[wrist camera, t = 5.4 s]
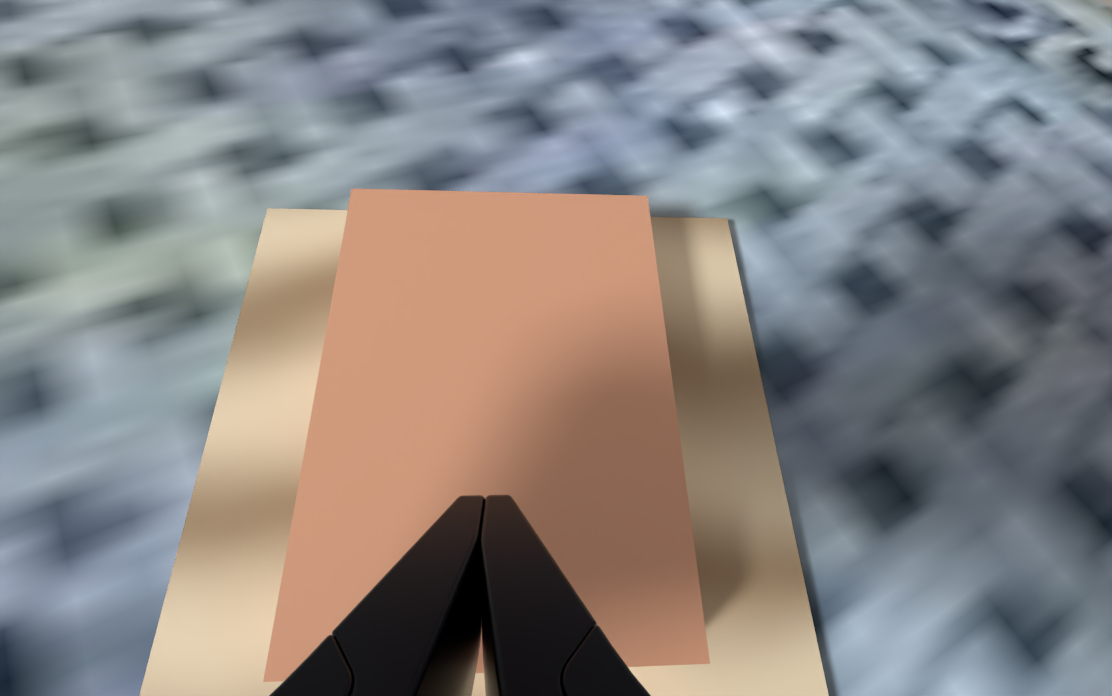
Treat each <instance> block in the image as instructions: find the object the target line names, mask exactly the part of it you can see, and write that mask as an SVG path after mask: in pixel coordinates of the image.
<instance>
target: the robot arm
mask: <svg viewBox="0 0 1112 696" xmlns="http://www.w3.org/2000/svg"><path fill="white" fill-rule="evenodd" d="M481 631H482V650H483V666H484V680H485V693H486V696H651V695H650V694H649V693H648V692H647V690H646V689H645V688H644V687H643V686H642V684H641V683H640V682H639V681H638V680H637V678H636V677H635V676H634V675H633V673H632V672H631V671H630V669H629V668H628V667H627V665H626V664H625V662H624V661H623V660H622V658H621V657H620V656H619V654H618V653H617V651H616V650H615V649H614V647H613V646H612V644H611V643H610V641H609V640H608V638H607V637H606V635H605V634H604V632H603V631H602V629H601V628H600V627H599V626H597V623H596V621H595V620H594V618H593V617H592V615H591V614H590V612H589V611H588V609H587V608H586V606H585V605H584V603H583V602H582V600H581V599H580V597H579V596H578V594H577V593H576V591H575V590H574V588H573V587H572V585H571V584H570V582H569V581H568V579H567V578H566V576H565V575H564V574H563V572H562V571H561V569H560V568H559V566H558V565H557V563H556V562H555V560H554V559H553V557H552V556H551V554H550V553H549V551H548V550H547V548H546V547H545V545H544V544H543V542H542V541H541V539H540V538H539V536H538V535H537V533H536V532H535V530H534V529H533V528H532V526H531V525H530V523H529V522H528V520H527V519H526V517H525V516H524V514H523V513H522V511H521V510H520V508H519V507H518V505H517V504H516V502H515V501H514V499H513V498H512V497H511V496H510V495H488V496H487V497H486V498H484V496H482V495H462V496H459V497H458V498H457V499H456V500H455V501H454V502H453V503H452V504H451V505H450V506H449V507H448V509H447V510H446V511H445V512H444V513H443V514H442V515H441V516H440V517H439V518H438V519H437V520H436V521H435V522H434V523H433V525H432V526H431V527H430V528H429V529H428V530H427V531H426V532H425V533H424V534H423V535H422V536H421V537H420V538H419V539H418V541H417V542H416V543H415V544H414V545H413V546H412V547H411V548H410V549H409V550H408V551H407V552H406V553H405V554H404V555H403V556H402V558H401V559H400V560H399V561H398V562H397V563H396V564H395V565H394V566H393V567H392V568H391V569H390V570H389V571H388V572H387V574H386V575H385V576H384V577H383V578H382V579H381V580H380V581H379V582H378V583H377V584H376V585H375V586H374V587H373V588H372V590H371V591H370V592H369V593H368V594H367V595H366V596H365V597H364V598H363V599H362V600H361V601H360V602H359V603H358V604H357V605H356V607H355V608H354V609H353V610H352V611H351V612H350V613H349V614H348V615H347V616H346V617H345V618H344V619H343V620H342V621H341V623H340V624H339V625H338V626H337V627H336V628H335V629H334V630H333V632H332V635H328V636H327V637H326V638H325V639H324V640H323V641H322V642H321V643H320V645H319V646H318V647H317V648H316V649H315V650H314V651H313V652H312V653H311V654H310V655H309V656H308V657H307V658H306V659H305V660H304V661H303V662H302V663H301V664H300V665H299V666H298V667H297V668H296V669H295V670H294V671H293V672H292V673H291V674H290V675H289V676H288V677H287V678H286V680H285V681H284V682H283V683H282V684H281V685H280V686H279V687H278V688H277V689H275V690H274V691H273V692H272V693H271V694H270V695H269V696H472V690H473V685H474V679H475V673H476V667H477V662H478V656H479V649H480V642H481Z"/></svg>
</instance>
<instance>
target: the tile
mask: <svg viewBox="0 0 1112 696" xmlns="http://www.w3.org/2000/svg"><path fill="white" fill-rule="evenodd" d="M462 495H482V496H484V498H486V497H487V496H488V495H510V496H511V497H512V498H513V499H514V501H515V502H516V504H517V505H518V507H519V508H520V510H521V511H522V513H523V514H524V516H525V517H526V519H527V520H528V522H529V523H530V525H531V526H532V528H533V529H534V530H535V532H536V533H537V535H538V536H539V538H540V539H541V541H542V542H543V544H544V545H545V547H546V548H547V550H548V551H549V553H550V554H551V556H552V557H553V559H554V560H555V562H556V563H557V565H558V566H559V568H560V569H561V571H562V572H563V574H564V575H565V576H566V578H567V579H568V581H569V582H570V584H571V585H572V587H573V588H574V590H575V591H576V593H577V594H578V596H579V597H580V599H581V600H582V602H583V603H584V605H585V606H586V608H587V609H588V611H589V612H590V614H591V615H592V617H593V618H594V620H595V621H596V623H597V626H599V627H600V628H601V629H602V631H603V632H604V634H605V635H606V637H607V638H608V640H609V641H610V643H611V644H612V646H613V647H614V649H615V650H616V651H617V653H618V654H619V656H620V657H621V658H622V660H623V661H624V662H625V664H626V665H627V667H644V666H668V665H692V664H710V659H709V651H708V644H707V636H706V629H705V621H704V614H703V606H702V599H701V591H700V584H699V576H698V569H697V562H696V554H695V547H694V539H693V532H692V524H691V517H690V509H689V502H688V494H687V487H686V479H685V472H684V464H683V457H682V449H681V442H680V435H679V427H678V420H677V412H676V405H675V397H674V390H673V382H672V375H671V367H670V360H669V352H668V345H667V337H666V330H665V322H664V315H663V308H662V300H661V293H660V285H659V278H658V270H657V263H656V255H655V248H654V240H653V233H652V225H651V218H650V210H649V203H648V196H631V195H590V194H549V193H508V192H467V191H426V190H385V189H351V195H350V200H349V206H348V211H347V217H346V223H345V228H344V234H343V239H342V245H341V250H340V256H339V262H338V267H337V273H336V278H335V284H334V289H333V295H332V301H331V306H330V312H329V317H328V323H327V328H326V334H325V340H324V345H323V351H322V356H321V362H320V368H319V373H318V379H317V384H316V390H315V395H314V401H313V407H312V412H311V418H310V423H309V429H308V434H307V440H306V446H305V451H304V457H303V462H302V468H301V473H300V479H299V485H298V490H297V496H296V501H295V507H294V513H293V518H292V524H291V529H290V535H289V540H288V546H287V552H286V557H285V563H284V568H283V574H282V579H281V585H280V591H279V596H278V602H277V607H276V613H275V618H274V624H273V630H272V635H271V641H270V646H269V652H268V657H267V663H266V669H265V674H264V680H263V682H278V681H285V680H286V678H287V677H288V676H289V675H290V674H291V673H292V672H293V671H294V670H295V669H296V668H297V667H298V666H299V665H300V664H301V663H302V662H303V661H304V660H305V659H306V658H307V657H308V656H309V655H310V654H311V653H312V652H313V651H314V650H315V649H316V648H317V647H318V646H319V645H320V643H321V642H322V641H323V640H324V639H325V638H326V637H327V636H328V635H332V632H333V630H334V629H335V628H336V627H337V626H338V625H339V624H340V623H341V621H342V620H343V619H344V618H345V617H346V616H347V615H348V614H349V613H350V612H351V611H352V610H353V609H354V608H355V607H356V605H357V604H358V603H359V602H360V601H361V600H362V599H363V598H364V597H365V596H366V595H367V594H368V593H369V592H370V591H371V590H372V588H373V587H374V586H375V585H376V584H377V583H378V582H379V581H380V580H381V579H382V578H383V577H384V576H385V575H386V574H387V572H388V571H389V570H390V569H391V568H392V567H393V566H394V565H395V564H396V563H397V562H398V561H399V560H400V559H401V558H402V556H403V555H404V554H405V553H406V552H407V551H408V550H409V549H410V548H411V547H412V546H413V545H414V544H415V543H416V542H417V541H418V539H419V538H420V537H421V536H422V535H423V534H424V533H425V532H426V531H427V530H428V529H429V528H430V527H431V526H432V525H433V523H434V522H435V521H436V520H437V519H438V518H439V517H440V516H441V515H442V514H443V513H444V512H445V511H446V510H447V509H448V507H449V506H450V505H451V504H452V503H453V502H454V501H455V500H456V499H457V498H458V497H459V496H462ZM476 673H484V666H483V650H482V631H481V642H480V649H479V656H478V662H477V667H476Z"/></svg>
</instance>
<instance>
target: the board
mask: <svg viewBox="0 0 1112 696" xmlns="http://www.w3.org/2000/svg"><path fill="white" fill-rule="evenodd" d="M347 211H348V210H313V209H267V213H266V216H265V220H264V224H263V228H262V232H261V235H260V239H259V243H258V247H257V251H256V254H255V258H254V262H253V266H252V270H251V273H250V277H249V281H248V285H247V289H246V292H245V296H244V300H243V304H242V308H241V311H240V315H239V319H238V323H237V327H236V330H235V334H234V338H233V342H232V346H231V349H230V353H229V357H228V361H227V365H226V368H225V372H224V376H223V380H222V384H221V387H220V391H219V395H218V399H217V403H216V406H215V410H214V414H213V418H212V422H211V425H210V429H209V433H208V437H207V441H206V444H205V448H204V452H203V456H202V460H201V463H200V467H199V471H198V475H197V479H196V482H195V486H194V490H193V494H192V498H191V502H190V505H189V509H188V513H187V517H186V521H185V524H184V528H183V532H182V536H181V540H180V543H179V547H178V551H177V555H176V559H175V562H174V566H173V570H172V574H171V578H170V581H169V585H168V589H167V593H166V597H165V600H164V604H163V608H162V612H161V616H160V619H159V623H158V627H157V631H156V635H155V638H154V642H153V646H152V650H151V654H150V657H149V661H148V665H147V669H146V673H145V676H144V680H143V684H142V688H141V692H140V695H139V696H269V695H270V694H271V693H272V692H273V691H274V690H275V689H277V688H278V687H279V686H280V685H281V684H282V683H283V682H284V681H278V682H263V680H264V674H265V669H266V663H267V657H268V652H269V646H270V641H271V635H272V630H273V624H274V618H275V613H276V607H277V602H278V596H279V591H280V585H281V579H282V574H283V568H284V563H285V557H286V552H287V546H288V540H289V535H290V529H291V524H292V518H293V513H294V507H295V501H296V496H297V490H298V485H299V479H300V473H301V468H302V462H303V457H304V451H305V446H306V440H307V434H308V429H309V423H310V418H311V412H312V407H313V401H314V395H315V390H316V384H317V379H318V373H319V368H320V362H321V356H322V351H323V345H324V340H325V334H326V328H327V323H328V317H329V312H330V306H331V301H332V295H333V289H334V284H335V278H336V273H337V267H338V262H339V256H340V250H341V245H342V239H343V234H344V228H345V223H346V217H347ZM650 218H651V225H652V233H653V240H654V248H655V255H656V263H657V270H658V278H659V285H660V293H661V300H662V308H663V315H664V322H665V330H666V337H667V345H668V352H669V360H670V367H671V375H672V382H673V390H674V397H675V405H676V412H677V420H678V427H679V435H680V442H681V449H682V457H683V464H684V472H685V479H686V487H687V494H688V502H689V509H690V517H691V524H692V532H693V539H694V547H695V554H696V562H697V569H698V576H699V584H700V591H701V599H702V606H703V614H704V621H705V629H706V636H707V644H708V651H709V659H710V664H692V665H668V666H644V667H628V668H629V669H630V671H631V672H632V673H633V675H634V676H635V677H636V678H637V680H638V681H639V682H640V683H641V684H642V686H643V687H644V688H645V689H646V690H647V692H648V693H649V694H650V695H651V696H829V694H828V690H827V685H826V680H825V676H824V671H823V666H822V661H821V657H820V652H819V647H818V643H817V638H816V633H815V629H814V624H813V619H812V614H811V610H810V605H809V600H808V596H807V591H806V586H805V582H804V577H803V572H802V567H801V563H800V558H799V553H798V549H797V544H796V539H795V535H794V530H793V525H792V520H791V516H790V511H789V506H788V502H787V497H786V492H785V488H784V483H783V478H782V473H781V469H780V464H779V459H778V455H777V450H776V445H775V441H774V436H773V431H772V426H771V422H770V417H769V412H768V408H767V403H766V398H765V394H764V389H763V384H762V379H761V375H760V370H759V365H758V361H757V356H756V351H755V347H754V342H753V337H752V332H751V328H750V323H749V318H748V314H747V309H746V304H745V300H744V295H743V290H742V285H741V281H740V276H739V271H738V267H737V262H736V257H735V253H734V248H733V243H732V238H731V234H730V229H729V224H728V220H727V218H685V217H650ZM472 696H486V693H485V680H484V673H475V679H474V685H473V690H472Z"/></svg>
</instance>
